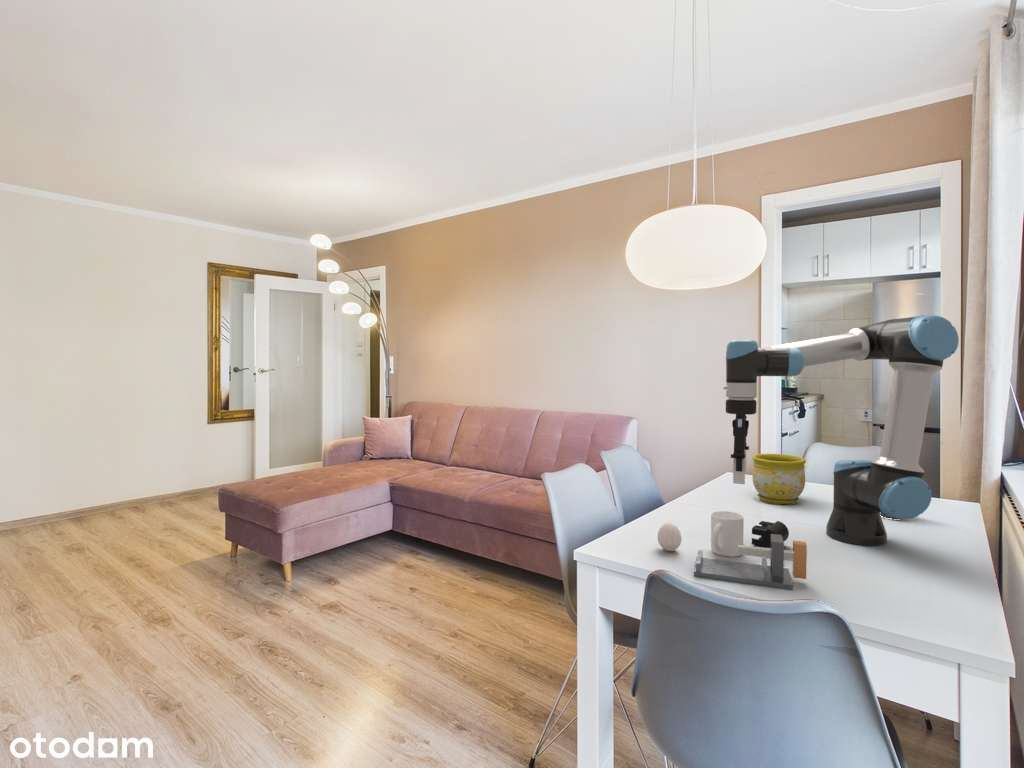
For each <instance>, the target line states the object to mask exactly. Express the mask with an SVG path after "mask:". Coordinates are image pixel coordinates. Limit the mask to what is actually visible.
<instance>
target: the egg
mask: <svg viewBox="0 0 1024 768" xmlns="http://www.w3.org/2000/svg"><path fill="white" fill-rule="evenodd" d="M657 542H658V544H659V546H660V547H661V548H662V549H663V550H665V551H667V552H674V551H676V550H678V548H679V547H680V546H681V544H682V534H681V531H680V529H679V527H678V526H677V525H676V524H675V523H673V522H671V521H670V522H665V523H663V524H661V526H660V528H659V530H658V531H657Z"/></svg>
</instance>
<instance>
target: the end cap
mask: <svg viewBox="0 0 1024 768" xmlns="http://www.w3.org/2000/svg"><path fill="white" fill-rule="evenodd" d="M789 531H790V530H789V528H788V527H787V525H786V524H784V523H783V522H782V521H779V520H776V521H775V522H769V521H764V520H761V521H759V522H758V525H757V524H755V525H754V526H752V528H751V535H755V536H759V537H758V538H754V537H753V538H752V537H751V545H752V546H754V547H763V548H771V534H777V535H782V538H783V542H784V543H785V542H786V541H787V540H788V538H789V534H790V533H789Z"/></svg>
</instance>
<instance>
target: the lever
mask: <svg viewBox="0 0 1024 768" xmlns="http://www.w3.org/2000/svg"><path fill="white" fill-rule="evenodd" d="M807 549H808V544H807V543H806V541H801V540H792V550H787V549H784V561H792V576H793V578H794V579H801V580H807V559H808V558H807V553H808V552H807V551H808V550H807ZM738 554H740V556H748V557H749V556H751V557H759V558H766V559H770V558H772V548H763V547H754V545H752V546H751V545H745V544H743V545H738Z"/></svg>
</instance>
